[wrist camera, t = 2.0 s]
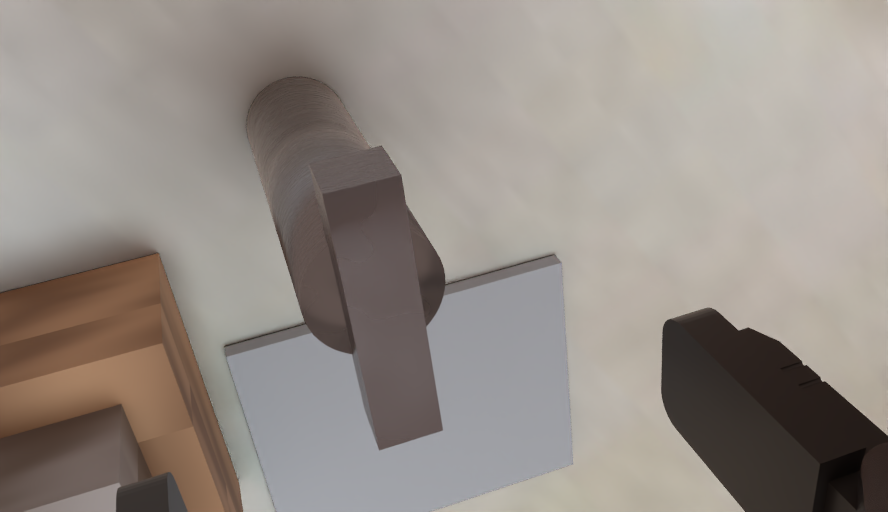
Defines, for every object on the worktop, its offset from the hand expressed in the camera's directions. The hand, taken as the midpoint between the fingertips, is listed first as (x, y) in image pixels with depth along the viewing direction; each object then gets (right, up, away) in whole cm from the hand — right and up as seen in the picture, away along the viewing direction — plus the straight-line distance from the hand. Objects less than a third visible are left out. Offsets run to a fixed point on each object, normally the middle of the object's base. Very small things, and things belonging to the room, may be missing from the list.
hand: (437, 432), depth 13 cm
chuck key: (-4, +7, +12) cm, 15 cm away
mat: (-1, -3, +19) cm, 19 cm away
